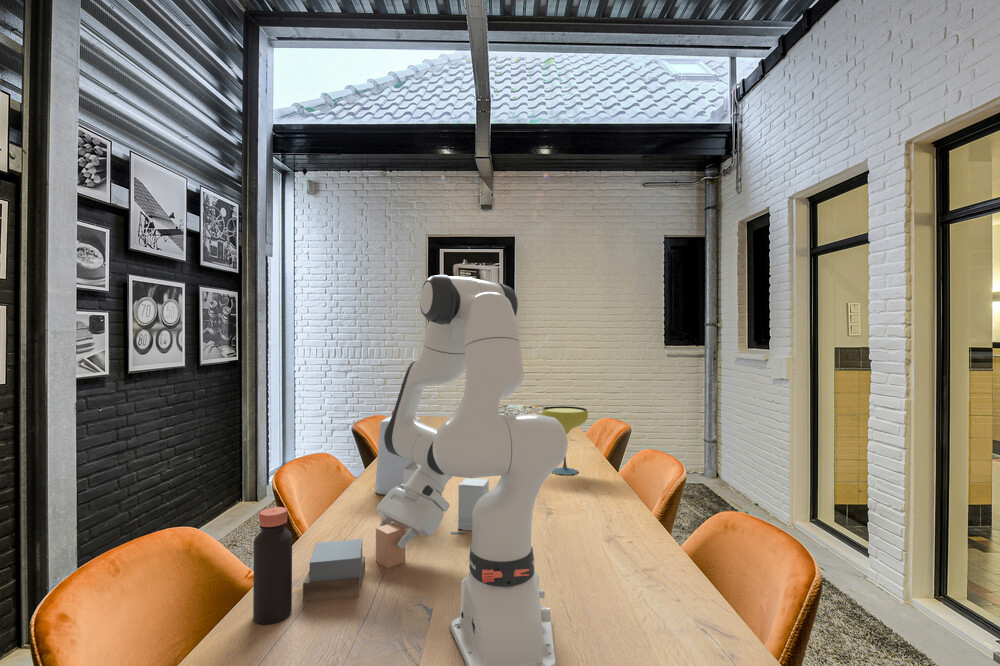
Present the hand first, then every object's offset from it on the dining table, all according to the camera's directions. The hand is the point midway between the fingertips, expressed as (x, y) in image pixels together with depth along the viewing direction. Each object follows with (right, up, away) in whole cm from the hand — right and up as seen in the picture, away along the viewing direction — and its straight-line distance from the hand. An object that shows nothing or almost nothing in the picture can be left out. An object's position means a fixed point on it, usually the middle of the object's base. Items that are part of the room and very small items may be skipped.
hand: (388, 541), depth 118 cm
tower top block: (-9, -1, -11) cm, 14 cm away
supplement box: (+19, -5, +23) cm, 30 cm away
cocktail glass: (+53, -6, +80) cm, 96 cm away
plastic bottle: (-8, -6, +56) cm, 57 cm away
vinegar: (-17, -5, -23) cm, 29 cm away
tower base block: (-9, -5, -11) cm, 15 cm away
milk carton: (+3, -5, +28) cm, 29 cm away
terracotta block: (0, -5, 0) cm, 5 cm away
